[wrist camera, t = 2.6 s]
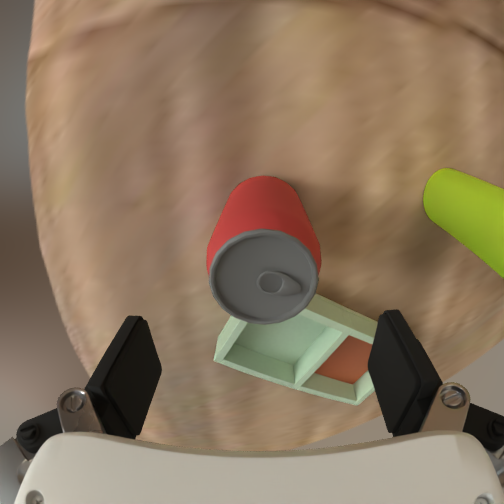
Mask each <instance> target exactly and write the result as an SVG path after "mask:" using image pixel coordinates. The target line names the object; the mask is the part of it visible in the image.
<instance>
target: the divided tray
mask: <svg viewBox="0 0 504 504" xmlns="http://www.w3.org/2000/svg"><path fill="white" fill-rule="evenodd" d="M377 324H378V322H377V321H375V320H372V319H370V318H368V317H366V316H364V315H362V314H359V313H357V312H355V311H353V310H351V309H349V308H346V307H344V306H342V305H340V304H338V303H336V302H334V301H331V300H329V299H327V298H325V297H323V296H321V295H318V294H316V293H315V295H314V297H313V298H312V300H311V301H310V303H309V304H308V306H307V307H306V308H305V309H304V310H302V311H301V312H300V313H299V314H297V315H296V316H295V317H292V318H290V319H288V320H285V321H283V322H281V323H274V324H267V325H262V324H252V323H248V322H245V321H242V320H240V319H237V318H234V317H233V316H232V315H231V317H230V319H229V320H228V322H227V323H226V325H225V327H224V328H223V330H222V332H221V333H220V335H219V336H218V340H217V345H216V350H215V356H214V361H216V362H218V363H221V364H223V365H226V366H228V367H231V368H234V369H237V370H239V371H242V372H245V373H248V374H250V375H253V376H256V377H259V378H262V379H265V380H268V381H271V382H274V383H277V384H280V385H283V386H287V387H290V388H293V389H296V390H300V391H304V392H307V393H310V394H314V395H318V396H321V397H325V398H329V399H333V400H337V401H341V402H345V403H349V404H353V405H359V404H360V403H361V402H362V401H363V400H364V399H366V398H367V397H368V396H369V395H370V394H371V393H373V392H374V391H375V389H374V386H373V383H372V380H371V377H370V374H369V371H368V359H369V356H370V352H371V348H372V344H373V341H374V337H375V333H376V328H377Z"/></svg>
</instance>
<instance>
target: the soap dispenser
mask: <svg viewBox="0 0 504 504" xmlns="http://www.w3.org/2000/svg"><path fill="white" fill-rule="evenodd" d="M423 204H424V209H425V212H426V214H427V216H428V217H429V218H430V219H431V220H432V221H433V222H434V223H436V224H437V225H438V226H440V227H441V228H442V229H444V230H445V231H446V232H448V233H449V234H450V235H452V236H453V237H454V238H456V239H457V240H458V241H459V242H461V243H462V244H463V245H465V246H466V247H467V248H468V249H470V250H471V251H472V252H473V253H474V254H476V255H477V256H478V257H479V258H481V259H482V260H483V261H484V262H485V263H486V264H488V265H489V266H490V267H491V268H492V269H493V270H494V271H496V272H497V273H498V274H499V275H500V276H501V277H502V278H503V279H504V189H502V188H499V187H497V186H495V185H492V184H490V183H488V182H485V181H483V180H480V179H478V178H475V177H473V176H470V175H468V174H465V173H462V172H460V171H457V170H454V169H451V168H443V169H440V170H438V171H437V172H435V173H434V174H433V175H432V176H431V177H430V179H429V180H428V182H427V184H426V187H425V190H424V195H423Z"/></svg>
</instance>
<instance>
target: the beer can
mask: <svg viewBox="0 0 504 504" xmlns="http://www.w3.org/2000/svg"><path fill="white" fill-rule="evenodd" d="M320 268H321V253H320V244H319V242H318V239H317V237H316V235H315V232H314V230H313V228H312V226H311V223H310V221H309V219H308V216H307V214H306V212H305V210H304V208H303V205H302V203H301V201H300V199H299V197H298V195H297V193H296V192H295V190H294V189H293V188H292V187H291V186H290V185H288V184H287V183H286V182H284V181H282V180H280V179H278V178H276V177H270V176H258V177H252V178H249V179H247V180H245V181H244V182H242V183H240V184H239V185H238V186H237V187H236V188H235V189H234V190H233V191H232V192H231V194H230V196H229V199H228V201H227V203H226V205H225V207H224V210H223V212H222V214H221V216H220V219H219V221H218V223H217V226H216V228H215V230H214V232H213V235H212V237H211V240H210V242H209V244H208V247H207V271H208V274H209V284H210V288H211V291H212V294H213V297H214V298H215V299H216V301H217V302H218V303H219V305H220V306H221V307H222V309H224V310H225V311H226V312H228V313H229V314H230V315H232V316H233V317H234V318H237V319H240V320H242V321H245V322H248V323H252V324H262V325H267V324H274V323H281V322H283V321H285V320H288V319H290V318H292V317H295V316H296V315H297V314H299V313H300V312H301V311H302V310H304V309H305V308H306V307H307V306H308V304H309V303H310V301H311V300H312V298H313V297H314V295H315V293H316V289H317V285H318V281H319V277H318V276H319V272H320Z"/></svg>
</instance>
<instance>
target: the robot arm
mask: <svg viewBox="0 0 504 504" xmlns="http://www.w3.org/2000/svg"><path fill="white" fill-rule="evenodd" d="M368 371H369V374H370V377H371V380H372V383H373V386H374V389H375V392H376V395H377V398H378V401H379V404H380V407H381V411H382V414H383V417H384V420H385V423H386V426H387V430H388V432H389V433H392V434H393V437H392V438H388V439H382V440H377V441H371V442H365V443H358V444H352V445H344V446H338V447H328V448H318V449H306V450H289V451H228V450H211V449H199V448H189V447H180V446H172V445H165V444H159V443H152V442H146V441H140V440H135V438H136V435H140V433H141V430H142V427H143V424H144V421H145V418H146V415H147V413H148V410H149V407H150V404H151V401H152V398H153V395H154V392H155V390H156V387H157V384H158V381H159V378H160V376H161V372H162V367H161V363H160V361H159V358H158V355H157V352H156V349H155V345H154V342H153V339H152V336H151V333H150V329H149V326H148V323H147V321H146V320H144V319H143V318H142V317H141V316H128V317H127V318H126V319H125V321H124V323H123V324H122V326H121V327H120V329H119V331H118V332H117V334H116V336H115V337H114V339H113V341H112V342H111V344H110V346H109V347H108V349H107V350H106V352H105V354H104V356H103V357H102V359H101V361H100V362H99V364H98V366H97V368H96V369H95V371H94V373H93V375H92V376H91V378H90V380H89V382H88V384H87V385H86V387H85V389H81V388H71V389H68V390H66V391H64V392H63V393H62V394H61V395H60V397H59V398H58V401H57V408H56V409H54V410H51V411H49V412H47V413H44V414H42V415H40V416H37V417H35V418H32V419H30V420H27V421H25V422H24V423H22V424H21V425H20V426H19V428H18V430H17V434H16V435H17V438H16V439H14V438H13V437H12V438H11V439H9V440H8V441H6V442H5V443H4V444H3V445H1V446H0V503H1V504H504V416H502V415H499V414H497V413H494V412H491V411H489V410H487V409H484V408H482V407H479V406H477V405H474V404H472V403H470V395H469V392H468V391H467V389H466V388H465V387H463V386H462V385H460V384H458V383H454V382H451V383H445V384H443V383H442V381H441V379H440V377H439V375H438V373H437V372H436V370H435V368H434V366H433V364H432V362H431V361H430V359H429V357H428V355H427V354H426V352H425V350H424V348H423V347H422V345H421V343H420V342H419V340H418V339H416V337H415V336H414V334H413V332H412V331H411V329H410V327H409V326H408V324H407V322H406V321H405V319H404V317H403V316H402V314H401V313H400V311H399V310H397V309H396V310H386V311H384V313H383V314H381V315H380V316H379V320H378V324H377V328H376V333H375V337H374V341H373V344H372V348H371V352H370V356H369V359H368Z"/></svg>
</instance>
